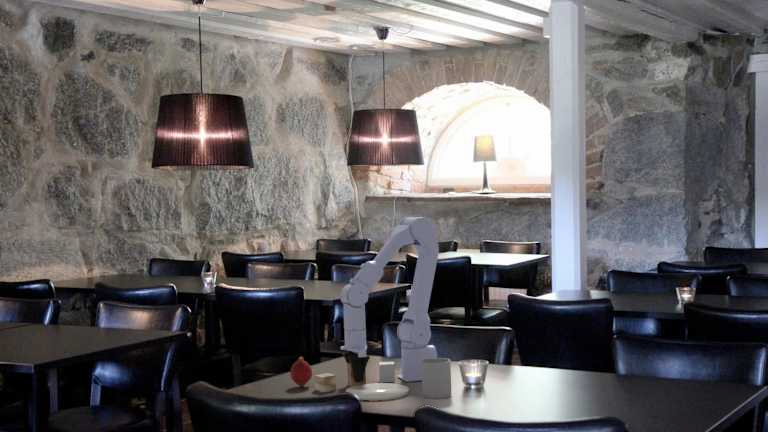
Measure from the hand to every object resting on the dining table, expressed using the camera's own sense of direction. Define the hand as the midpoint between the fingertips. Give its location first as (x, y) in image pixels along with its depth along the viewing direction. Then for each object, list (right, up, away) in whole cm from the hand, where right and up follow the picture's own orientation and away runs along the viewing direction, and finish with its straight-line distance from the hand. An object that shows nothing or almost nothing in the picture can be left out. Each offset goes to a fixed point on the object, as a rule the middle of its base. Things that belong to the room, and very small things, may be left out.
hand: (356, 380), depth 263 cm
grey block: (+8, -1, +4) cm, 9 cm away
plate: (+6, -2, -12) cm, 13 cm away
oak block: (-8, -2, -4) cm, 9 cm away
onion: (-15, -2, +1) cm, 15 cm away
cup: (+21, -1, -16) cm, 26 cm away
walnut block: (0, -1, 0) cm, 1 cm away
